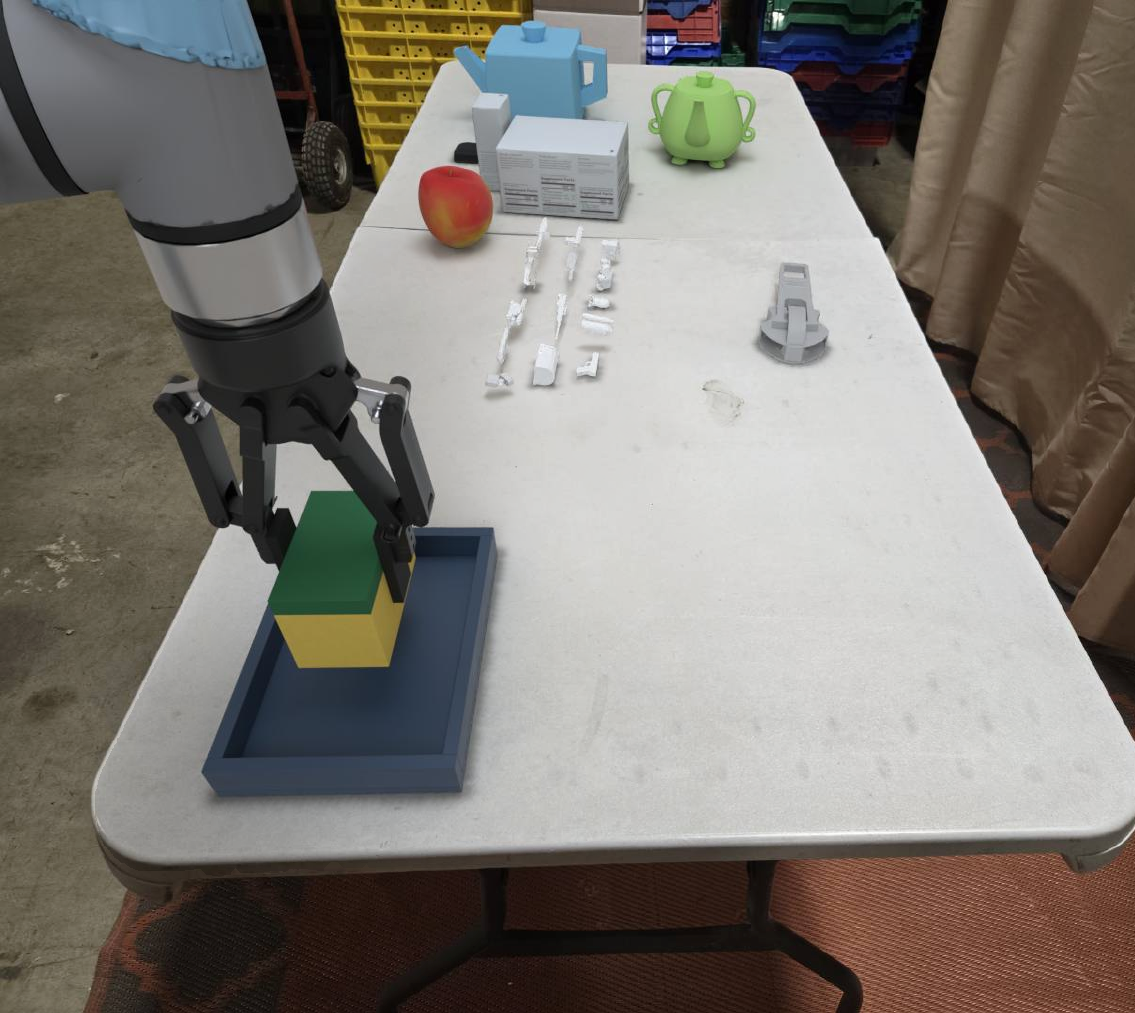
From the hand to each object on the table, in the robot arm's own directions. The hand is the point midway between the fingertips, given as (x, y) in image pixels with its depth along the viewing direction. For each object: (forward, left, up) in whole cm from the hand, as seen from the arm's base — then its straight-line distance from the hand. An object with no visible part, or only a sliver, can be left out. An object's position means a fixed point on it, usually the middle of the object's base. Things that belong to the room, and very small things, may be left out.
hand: (353, 587), depth 59 cm
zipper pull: (+50, +37, -9) cm, 63 cm away
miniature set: (+24, +45, -8) cm, 52 cm away
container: (+32, +108, -8) cm, 114 cm away
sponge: (0, 0, -2) cm, 2 cm away
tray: (0, 0, -8) cm, 8 cm away
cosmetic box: (+22, +84, -8) cm, 88 cm away
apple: (+14, +66, -8) cm, 69 cm away
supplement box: (+31, +77, -8) cm, 84 cm away
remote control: (+24, +93, -8) cm, 97 cm away
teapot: (+55, +87, -8) cm, 104 cm away
